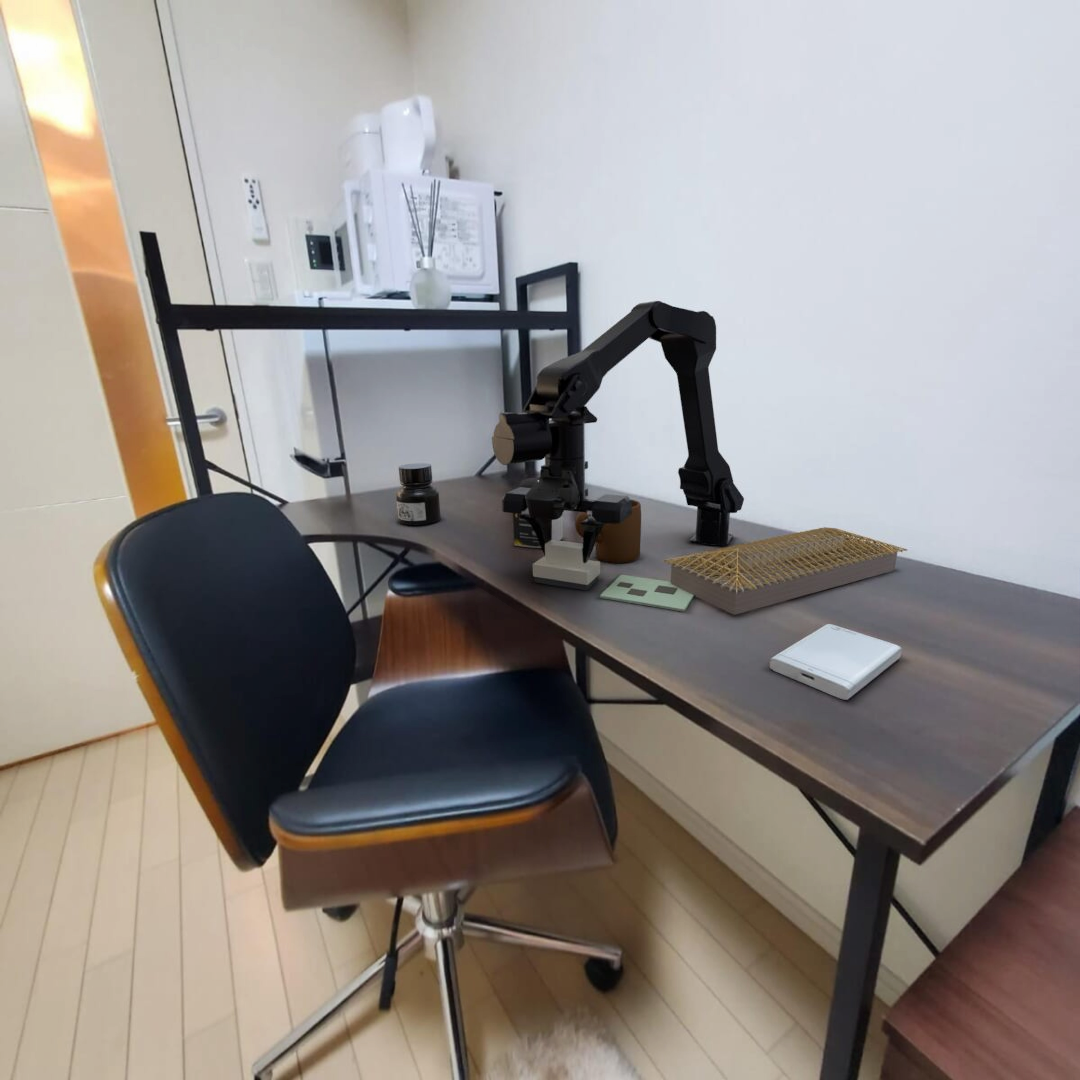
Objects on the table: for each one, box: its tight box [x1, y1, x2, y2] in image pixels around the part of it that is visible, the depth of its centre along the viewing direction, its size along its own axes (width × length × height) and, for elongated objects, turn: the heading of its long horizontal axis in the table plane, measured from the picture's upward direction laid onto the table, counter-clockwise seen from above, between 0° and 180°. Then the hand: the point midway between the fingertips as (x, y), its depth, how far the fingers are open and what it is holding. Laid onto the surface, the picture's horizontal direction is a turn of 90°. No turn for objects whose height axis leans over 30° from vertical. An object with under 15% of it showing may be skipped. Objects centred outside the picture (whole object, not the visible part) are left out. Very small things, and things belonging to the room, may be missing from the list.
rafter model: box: [662, 526, 908, 615], centre depth 85 cm, size 35×14×6 cm, turn 117°
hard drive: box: [769, 623, 902, 701], centre depth 62 cm, size 2×8×12 cm
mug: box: [574, 498, 642, 564], centre depth 96 cm, size 12×8×9 cm, turn 117°
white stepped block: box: [532, 540, 601, 591], centre depth 87 cm, size 5×9×6 cm, turn 63°
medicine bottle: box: [512, 476, 564, 550], centre depth 105 cm, size 7×7×12 cm
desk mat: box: [599, 574, 696, 613], centre depth 82 cm, size 9×12×1 cm
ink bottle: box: [395, 462, 442, 526], centre depth 122 cm, size 10×9×12 cm
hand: (566, 559), depth 87 cm, fingers closed on white stepped block, 6 cm apart
